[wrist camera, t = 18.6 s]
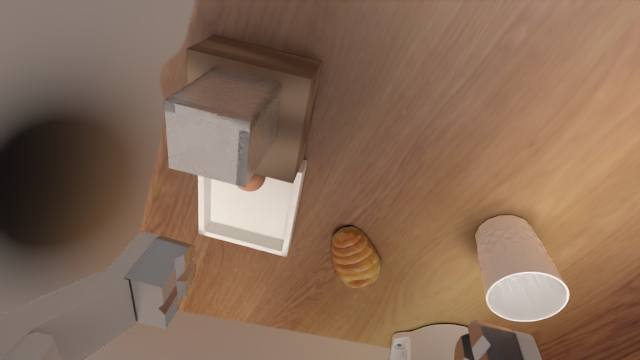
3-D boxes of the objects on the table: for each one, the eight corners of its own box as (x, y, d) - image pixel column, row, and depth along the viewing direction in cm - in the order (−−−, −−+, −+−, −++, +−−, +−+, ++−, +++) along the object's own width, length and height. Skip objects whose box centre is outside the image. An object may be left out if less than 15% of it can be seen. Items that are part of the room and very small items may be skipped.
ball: (261, 198, 45) (258, 191, 42) (231, 189, 46) (225, 181, 42) (271, 169, 47) (268, 159, 43) (242, 161, 47) (236, 150, 43)
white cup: (550, 238, 45) (585, 304, 37) (493, 265, 49) (513, 330, 41) (514, 199, 43) (542, 260, 35) (457, 231, 47) (470, 292, 39)
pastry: (322, 227, 51) (317, 245, 48) (368, 219, 49) (367, 238, 46) (341, 273, 55) (338, 293, 52) (385, 268, 53) (384, 288, 50)
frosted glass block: (275, 138, 37) (245, 187, 30) (214, 123, 37) (169, 167, 30) (282, 82, 34) (250, 122, 26) (214, 66, 34) (164, 101, 26)
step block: (304, 156, 45) (293, 183, 40) (212, 133, 45) (189, 156, 40) (322, 61, 38) (311, 79, 33) (213, 35, 38) (186, 48, 33)
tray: (291, 242, 53) (286, 257, 51) (207, 220, 54) (198, 233, 51) (307, 160, 45) (302, 173, 42) (208, 135, 45) (197, 146, 43)
